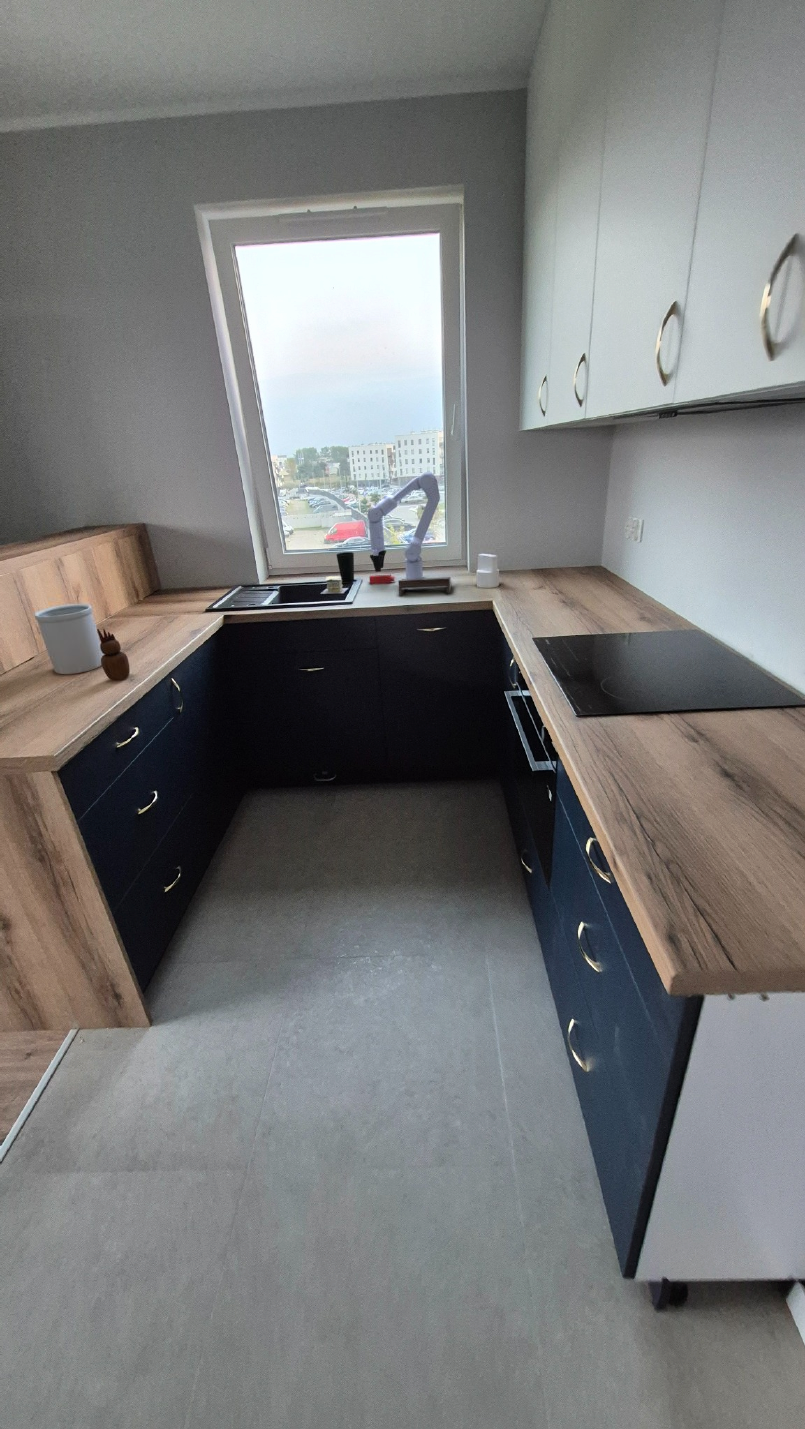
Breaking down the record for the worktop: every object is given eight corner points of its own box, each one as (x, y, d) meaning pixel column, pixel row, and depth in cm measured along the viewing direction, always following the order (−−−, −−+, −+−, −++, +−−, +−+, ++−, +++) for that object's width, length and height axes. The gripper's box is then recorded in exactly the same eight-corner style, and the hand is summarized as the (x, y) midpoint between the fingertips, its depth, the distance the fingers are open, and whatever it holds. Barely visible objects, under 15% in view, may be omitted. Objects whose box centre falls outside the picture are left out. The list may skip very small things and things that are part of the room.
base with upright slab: (503, 584, 232) (503, 554, 227) (486, 588, 228) (486, 558, 223) (488, 581, 239) (488, 552, 234) (472, 585, 235) (471, 555, 230)
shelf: (402, 588, 238) (401, 574, 236) (450, 586, 236) (450, 572, 233) (399, 595, 227) (398, 580, 225) (449, 593, 225) (449, 578, 222)
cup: (355, 582, 255) (352, 554, 250) (338, 583, 256) (335, 555, 251) (357, 578, 262) (354, 551, 257) (340, 579, 263) (337, 552, 258)
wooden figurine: (107, 684, 158) (91, 632, 152) (106, 678, 163) (90, 627, 156) (133, 679, 161) (118, 627, 154) (131, 673, 165) (117, 622, 159)
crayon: (371, 582, 253) (370, 575, 252) (394, 581, 252) (394, 574, 250) (369, 584, 250) (369, 577, 249) (394, 583, 249) (393, 576, 248)
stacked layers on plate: (348, 588, 246) (347, 575, 243) (343, 593, 238) (341, 580, 235) (326, 588, 247) (324, 576, 245) (320, 593, 240) (318, 580, 237)
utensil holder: (98, 654, 183) (81, 600, 176) (115, 664, 173) (98, 607, 166) (47, 668, 174) (27, 611, 167) (62, 679, 164) (42, 619, 157)
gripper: (370, 535, 250) (372, 566, 256) (364, 540, 237) (367, 573, 243) (386, 534, 249) (388, 566, 255) (381, 539, 236) (384, 573, 242)
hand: (379, 569), depth 249 cm, fingers open, 7 cm apart
